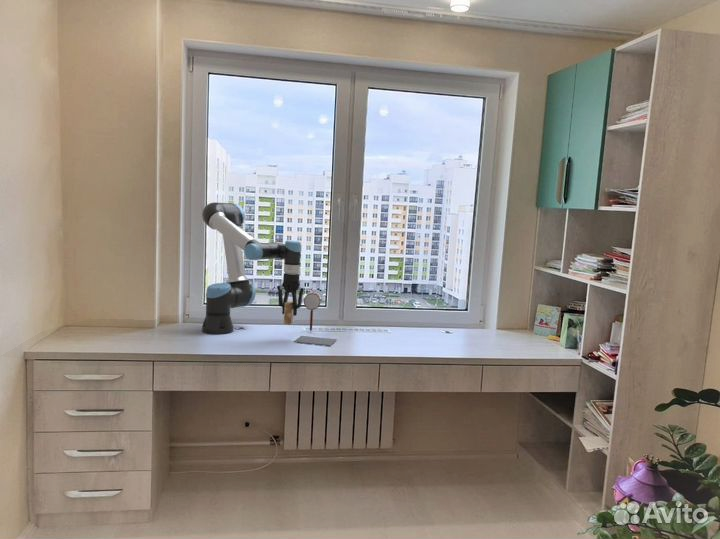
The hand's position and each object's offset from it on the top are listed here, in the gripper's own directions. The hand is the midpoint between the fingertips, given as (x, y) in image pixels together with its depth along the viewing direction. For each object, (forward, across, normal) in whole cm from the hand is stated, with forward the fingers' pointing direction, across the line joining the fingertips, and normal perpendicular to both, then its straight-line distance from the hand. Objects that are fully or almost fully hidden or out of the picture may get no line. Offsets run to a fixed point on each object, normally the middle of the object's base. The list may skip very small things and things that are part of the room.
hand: (289, 321), depth 250 cm
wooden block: (+1, 0, 0) cm, 1 cm away
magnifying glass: (+9, +6, +20) cm, 22 cm away
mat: (+8, +14, +1) cm, 16 cm away
